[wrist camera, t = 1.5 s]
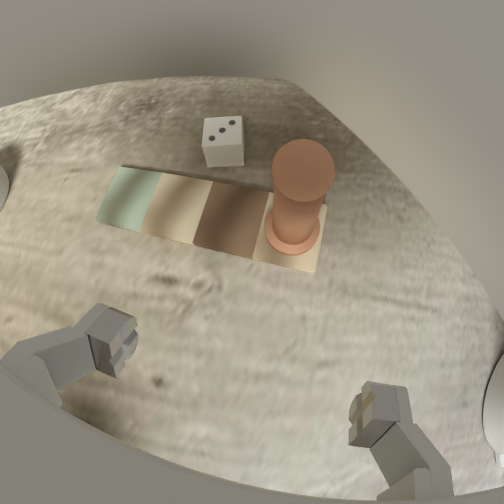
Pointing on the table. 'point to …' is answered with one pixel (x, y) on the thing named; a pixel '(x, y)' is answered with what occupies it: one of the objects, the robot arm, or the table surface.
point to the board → (199, 214)
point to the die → (223, 141)
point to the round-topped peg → (298, 195)
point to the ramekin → (3, 187)
